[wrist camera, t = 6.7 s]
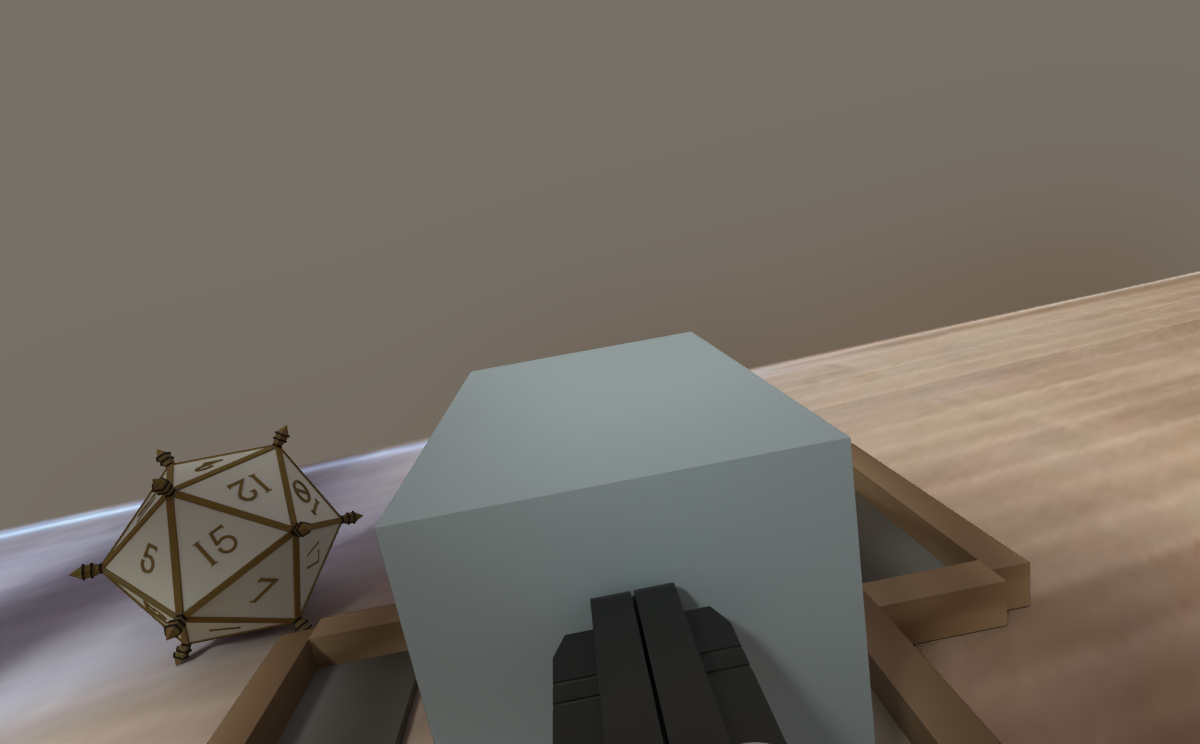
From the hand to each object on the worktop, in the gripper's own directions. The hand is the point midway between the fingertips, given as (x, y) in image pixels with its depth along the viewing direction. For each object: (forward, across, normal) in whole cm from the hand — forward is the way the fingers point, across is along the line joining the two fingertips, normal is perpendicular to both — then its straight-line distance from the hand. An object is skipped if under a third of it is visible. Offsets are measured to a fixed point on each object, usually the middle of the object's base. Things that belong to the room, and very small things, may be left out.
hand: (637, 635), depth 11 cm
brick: (+6, 0, +6) cm, 9 cm away
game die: (+14, +15, +7) cm, 22 cm away
